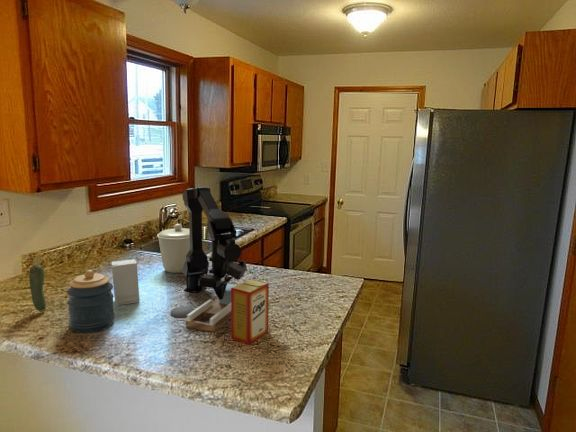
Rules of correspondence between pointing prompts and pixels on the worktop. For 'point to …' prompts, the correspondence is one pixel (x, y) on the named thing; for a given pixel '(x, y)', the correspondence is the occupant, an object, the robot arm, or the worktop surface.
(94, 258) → the worktop surface
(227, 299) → the block
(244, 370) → the worktop surface
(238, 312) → the baking soda box
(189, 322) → the channel base plate
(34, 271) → the vegetable
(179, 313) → the coaster
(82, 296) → the canister
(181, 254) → the canister
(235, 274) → the robot arm
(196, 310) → the channel walls
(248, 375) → the worktop surface
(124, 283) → the skincare box
